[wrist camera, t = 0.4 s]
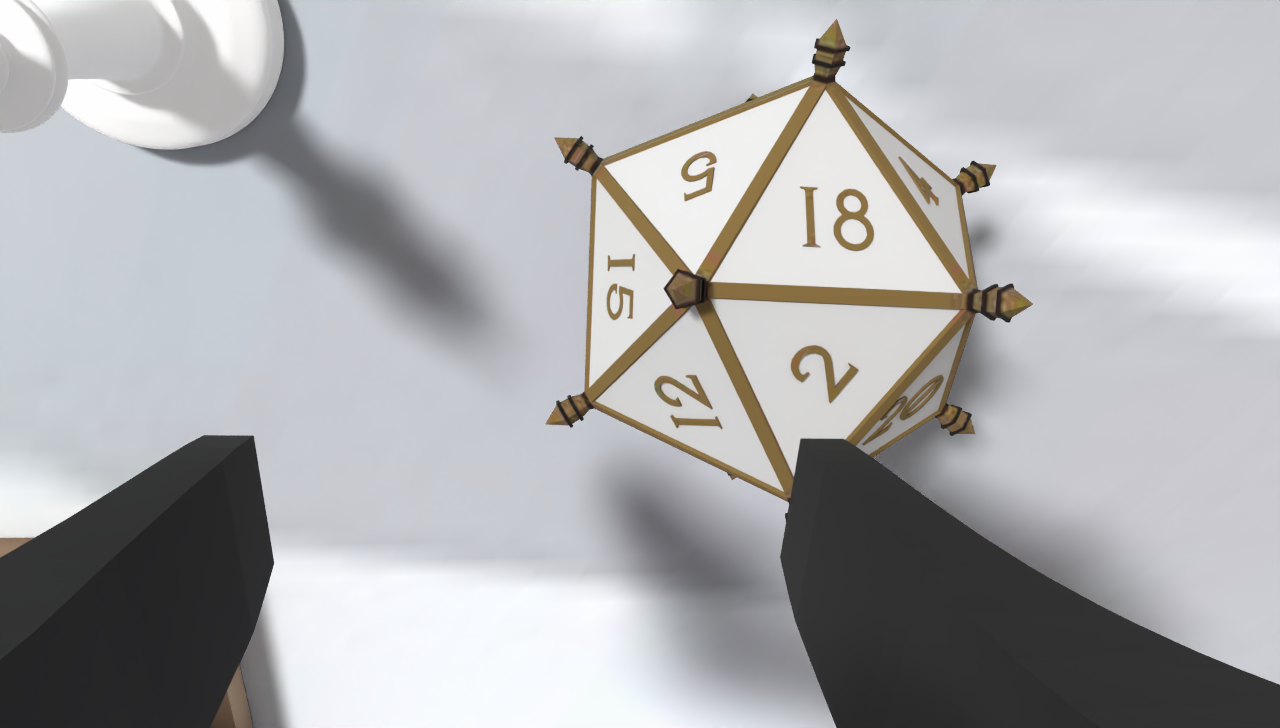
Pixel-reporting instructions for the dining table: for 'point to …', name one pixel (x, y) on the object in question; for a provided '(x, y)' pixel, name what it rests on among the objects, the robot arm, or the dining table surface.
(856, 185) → the game die
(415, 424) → the dining table surface
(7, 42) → the chess piece
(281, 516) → the dining table surface
